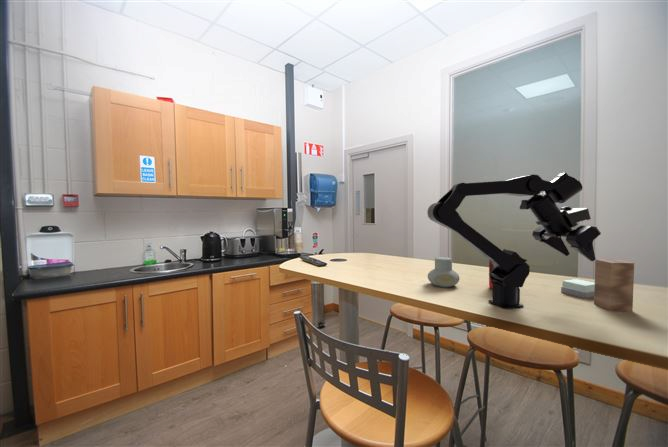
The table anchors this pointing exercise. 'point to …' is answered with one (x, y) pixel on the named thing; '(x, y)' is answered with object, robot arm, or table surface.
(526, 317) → the table surface
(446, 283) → the air freshener
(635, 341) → the table surface
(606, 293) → the walnut post
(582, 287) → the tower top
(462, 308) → the table surface
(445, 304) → the table surface
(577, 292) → the tower base
